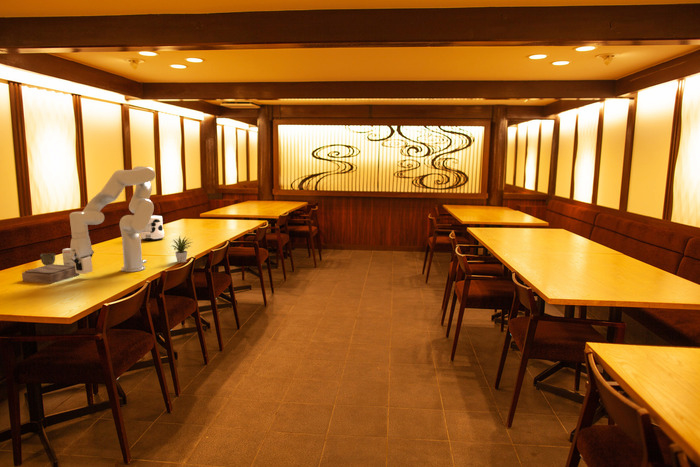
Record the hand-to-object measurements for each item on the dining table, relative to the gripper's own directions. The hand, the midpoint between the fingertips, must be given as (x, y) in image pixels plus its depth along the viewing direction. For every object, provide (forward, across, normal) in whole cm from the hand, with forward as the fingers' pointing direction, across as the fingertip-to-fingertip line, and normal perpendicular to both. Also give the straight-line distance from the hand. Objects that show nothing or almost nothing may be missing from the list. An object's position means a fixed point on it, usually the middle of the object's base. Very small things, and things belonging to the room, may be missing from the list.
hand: (83, 268), depth 242 cm
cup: (+6, -15, -38) cm, 42 cm away
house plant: (+7, -47, +28) cm, 55 cm away
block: (+2, 0, 0) cm, 2 cm away
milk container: (+8, -109, -36) cm, 116 cm away
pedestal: (+5, +4, -17) cm, 18 cm away
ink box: (+6, -16, -22) cm, 28 cm away
